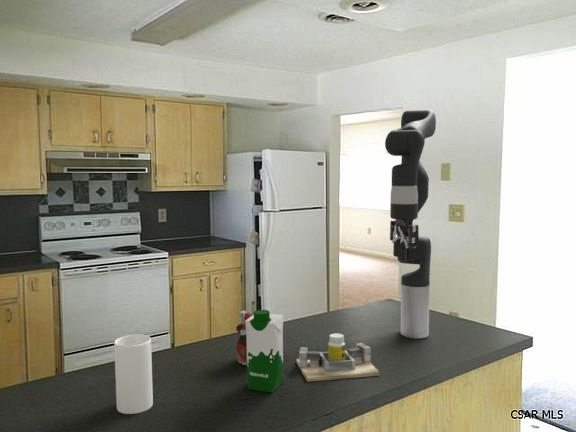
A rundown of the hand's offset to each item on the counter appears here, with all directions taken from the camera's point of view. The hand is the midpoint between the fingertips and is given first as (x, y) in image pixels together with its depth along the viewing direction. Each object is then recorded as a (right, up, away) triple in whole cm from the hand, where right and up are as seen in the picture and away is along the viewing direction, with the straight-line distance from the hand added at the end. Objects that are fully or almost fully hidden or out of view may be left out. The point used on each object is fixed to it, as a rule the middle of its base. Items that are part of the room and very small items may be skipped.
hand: (403, 258), depth 143 cm
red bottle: (-43, -31, +4) cm, 53 cm away
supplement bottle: (-19, -30, -2) cm, 35 cm away
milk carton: (-39, -32, -13) cm, 52 cm away
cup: (-69, -33, -24) cm, 80 cm away
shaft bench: (-19, -31, -2) cm, 36 cm away
